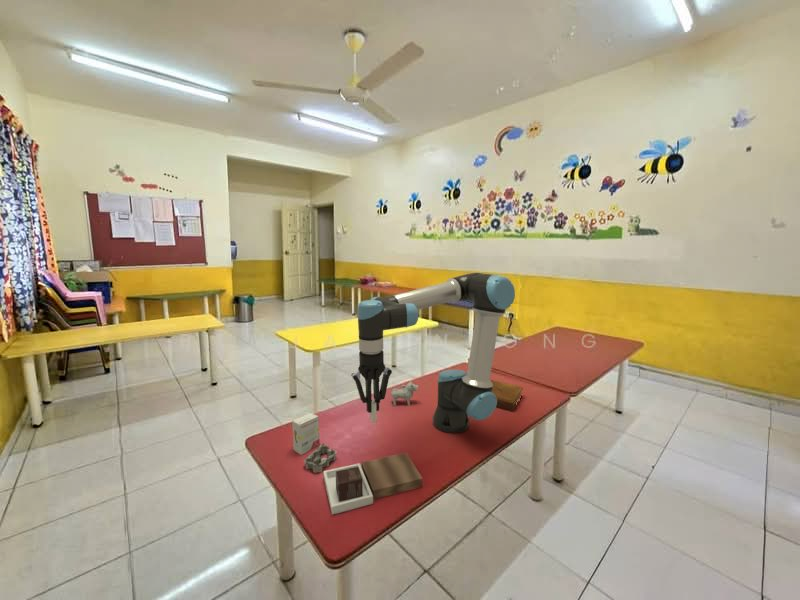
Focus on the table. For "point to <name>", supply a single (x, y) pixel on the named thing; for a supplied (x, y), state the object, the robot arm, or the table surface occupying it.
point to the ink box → (305, 433)
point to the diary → (506, 395)
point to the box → (349, 484)
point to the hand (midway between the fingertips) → (373, 420)
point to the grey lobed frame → (317, 460)
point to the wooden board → (391, 475)
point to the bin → (350, 503)
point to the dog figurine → (404, 392)
